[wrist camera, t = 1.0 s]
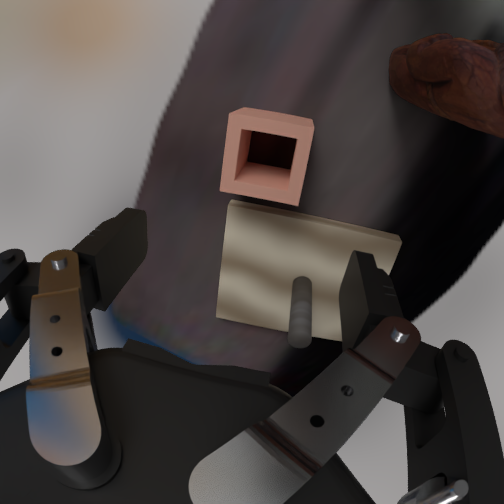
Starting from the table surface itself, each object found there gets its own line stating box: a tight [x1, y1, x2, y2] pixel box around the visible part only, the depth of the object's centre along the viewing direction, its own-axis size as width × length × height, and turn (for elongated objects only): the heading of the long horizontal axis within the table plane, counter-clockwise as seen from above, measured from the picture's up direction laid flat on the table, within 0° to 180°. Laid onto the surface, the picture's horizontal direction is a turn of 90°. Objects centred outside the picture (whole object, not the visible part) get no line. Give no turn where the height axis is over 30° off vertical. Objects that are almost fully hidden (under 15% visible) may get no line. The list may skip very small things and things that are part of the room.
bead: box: [220, 107, 314, 206], centre depth 25 cm, size 6×6×6 cm
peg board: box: [216, 200, 402, 348], centre depth 30 cm, size 14×17×10 cm
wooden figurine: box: [389, 33, 504, 139], centre depth 14 cm, size 12×6×18 cm, turn 92°
